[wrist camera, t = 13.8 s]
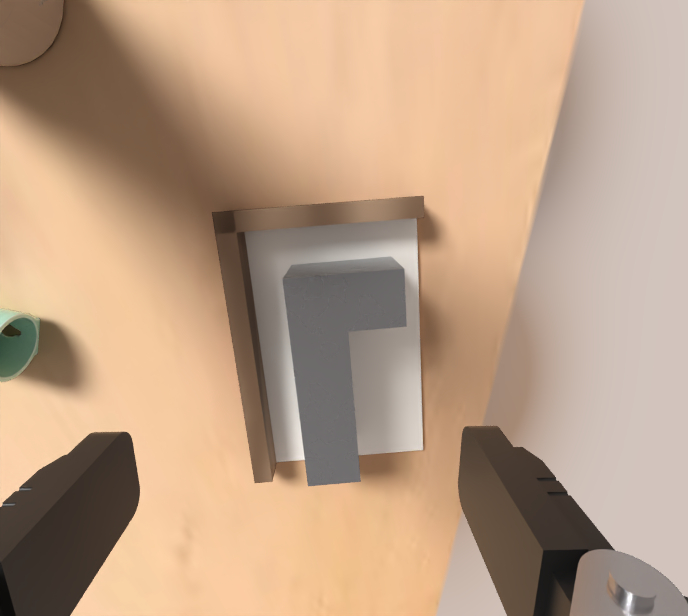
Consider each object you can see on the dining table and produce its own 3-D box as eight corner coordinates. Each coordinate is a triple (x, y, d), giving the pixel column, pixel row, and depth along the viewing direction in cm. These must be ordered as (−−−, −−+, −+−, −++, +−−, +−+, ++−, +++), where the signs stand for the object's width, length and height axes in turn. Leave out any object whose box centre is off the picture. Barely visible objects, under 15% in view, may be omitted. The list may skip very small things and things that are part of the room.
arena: (260, 460, 37) (254, 483, 34) (223, 211, 31) (211, 212, 28) (422, 447, 37) (429, 468, 34) (415, 196, 31) (423, 195, 28)
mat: (277, 459, 37) (276, 462, 36) (245, 229, 31) (244, 229, 31) (422, 447, 37) (423, 449, 36) (415, 216, 31) (416, 216, 31)
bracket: (291, 264, 32) (282, 279, 26) (391, 256, 32) (404, 268, 26) (312, 440, 36) (308, 486, 30) (400, 432, 36) (413, 476, 30)
